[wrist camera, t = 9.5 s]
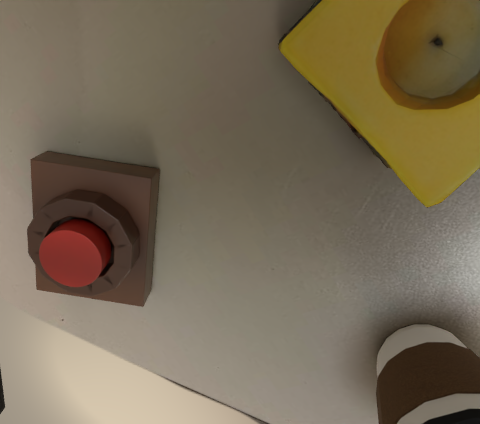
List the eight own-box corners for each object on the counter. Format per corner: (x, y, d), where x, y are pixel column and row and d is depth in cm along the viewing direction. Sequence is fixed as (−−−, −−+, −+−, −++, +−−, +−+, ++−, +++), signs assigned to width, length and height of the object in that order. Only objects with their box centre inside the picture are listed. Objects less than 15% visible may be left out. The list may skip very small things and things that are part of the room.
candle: (518, 44, 25) (659, 47, 16) (380, 160, 28) (432, 219, 19) (410, -100, 23) (501, -191, 14) (273, 44, 26) (273, 48, 17)
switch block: (46, 150, 30) (14, 166, 26) (160, 168, 30) (144, 187, 26) (50, 274, 34) (22, 303, 30) (151, 290, 34) (136, 322, 30)
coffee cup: (493, 398, 35) (596, 565, 24) (358, 415, 37) (395, 578, 26) (487, 284, 31) (606, 420, 20) (336, 309, 33) (369, 447, 22)
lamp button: (51, 214, 28) (37, 225, 26) (112, 224, 28) (102, 235, 26) (52, 268, 29) (39, 282, 28) (110, 277, 29) (101, 291, 27)
